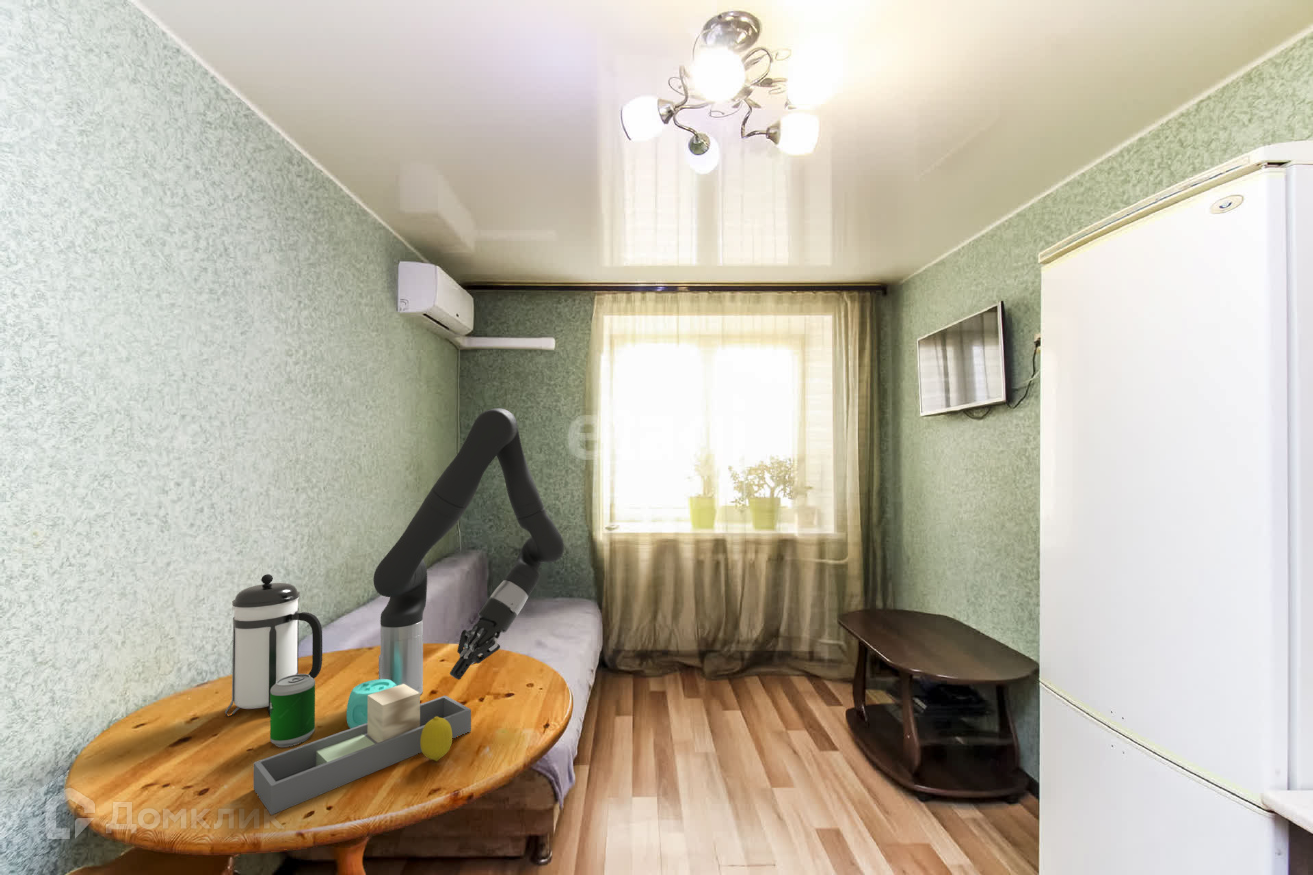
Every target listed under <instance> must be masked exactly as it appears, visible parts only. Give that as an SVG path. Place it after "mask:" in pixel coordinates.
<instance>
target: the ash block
mask: <svg viewBox="0 0 1313 875" xmlns="http://www.w3.org/2000/svg"><path fill="white" fill-rule="evenodd" d="M420 704H421V695H420V693H419V692H417V691H416V690H414V689H412V688H410V687H409V686H407V685H405V684H402V685H398V686H395V687H392V688H389V689H386V690H383V691H379V692H376V693H373V694H370V695H368V729H367V735H368V736H370V737H371V738H372V739H374V740H375V741H376V742H377V743H379V742H382V741H384V740H387V739H390V738H392V737H395V736H397V735H400V734H403V733H405V732H408V731H411V730H413V729H416V728H418V727H420Z"/></svg>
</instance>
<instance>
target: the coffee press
mask: <svg viewBox="0 0 1313 875" xmlns="http://www.w3.org/2000/svg"><path fill="white" fill-rule="evenodd" d="M273 580H274V577H273V575H271V574H268V573H267V574H264V575H263V576H262V577H261V579H260V581H261V583H262V584H257V585H252V586H249V587H246V588H244V589H242V590H241V591H239V592H238V593H237V594H236V595H235V598H234V599H233V601H232V603H231V606H232V608H231V610H232V611H233V612H234V614H233V618H232V662H231V663H232V666H231V668H232V669H231V670H232V671H231V673H232V674H231V679H232V680H231V701H230V704H229V705H228V707H226V709H225V711H224V714H225V715H226V716H227V717H229V716H228V715H227V714H228V712H229V710H230V709H231V708H232V707H233V705H235V706H236V707H235V709H233V711H232V712H233V713H232V712H231V713H232V714H233V715H235V713H236V712H238V711H239V710H241V709H246V710H252V709H253V710H256V709H262V708H267V712H268V716H270V698H271V688H272V686H273V685H275V684H276V682H277V681H278V680H279V679H281V678H284V677H287V676H290V675H296V674H299V625H300V624H299V621H301V622H302V621H303V622H306V623H308V625H309V626H310V628H311V634H312V642H311V643H312V654H311V655H312V657H311V658H312V660H311V661H312V664H311V669H310V671H309V673H307V674H308V675H310V677H312V678H314V679H316V678H317V677H318V675H319V674H320V672H321V670H322V666H323V628H322V624H321V621H320V620H319V619H318V617H317V616H316V615H314V614H313V613H310V612H306V611H301V612H300V611H299V610H300V609H299V605H298V604H299V603H298V600H299V599H300V595H301V593H300V591H298V589H297V588H296V586H295V585H293V584H291V583H286V582H273ZM271 582H272V583H271Z"/></svg>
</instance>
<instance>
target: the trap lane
mask: <svg viewBox="0 0 1313 875" xmlns="http://www.w3.org/2000/svg"><path fill="white" fill-rule="evenodd" d="M436 716H438V717H439V718H444V719H446V720H447V721H448V722H449V724H450V726H451V729H452V738H455V739H457V738H458V737H457V736H460V735H462V734H464V735H466V734H465V733H467V732H469V733H471V732H472V709H471V708H469V707H467V706H465V705H464V704H463V703H460V702H458V701H456V700H455V699H453V698H451V697H449V696H447V695H442V696H440V697H437V698H434V699H432V700H429V701H428V700H427V701H425V702H422V703H420V727H418V728H416V729H413V730H411V731H408V732H405V733H403V734H400V735H397V736H395V737H392V738H390V739H387V740H384V741H382V742H379V743H377V742H376V741H375V740H374V739H372V738H371V737H370V736H368V735H367V729H368V723H365V724H362V725H359V726H357V727H354V728H351V729H350V728H349V729H345V730H343V731H340V732H337V733H333V734H332V735H329V736H326V737H322V738H320V739H317V740H314V741H312V742H309V743H305V744H303V745H300V746H296V747H294V748H291V749H289V750H286V751H282V752H280V753H277V754H275V755H272V756H268V757H265V758H263V759H259V760H258V761H255V762H253V779H252V780H253V789H254V790H255V791H254V790H253V789H252V790H253V791H254V793H255V794H256V793H257V794H258V795H257V794H256V795H257V797H258V796H259V797H258V799H259V800H260V801H261V802H262V804H263V806H264V807H265V808H266V810H267V812H269V814H270V816H272V815H275V814H277V813H280V812H283V811H285V810H286V809H289V808H292V807H294V806H296V805H298V804H299V805H300V804H301V803H303V802H306V801H308V800H311V799H313V798H316V797H319V796H320V795H323V794H325V793H327V792H330V791H332V790H334V789H336V788H339V787H342V786H345V785H347V784H349V783H352V782H354V781H356V780H359V779H360V778H363V777H366V776H368V775H371V774H374V773H375V772H377V771H380V770H383V769H385V768H388V767H389V766H390V767H391V766H392V765H394V764H397V763H399V762H402V761H404V760H406V759H409V758H411V757H414V756H417V755H418V753H419V754H421V753H423V752H422V750H421V745H420V739H421V734H422V731H423V728H424V726H425V725H426V724H427V723H428V722H429V721H430V720H432V719H434V717H436ZM470 731H471V732H470ZM467 734H468V733H467ZM462 736H463V735H462ZM456 737H457V738H456ZM460 737H461V736H460Z"/></svg>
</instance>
